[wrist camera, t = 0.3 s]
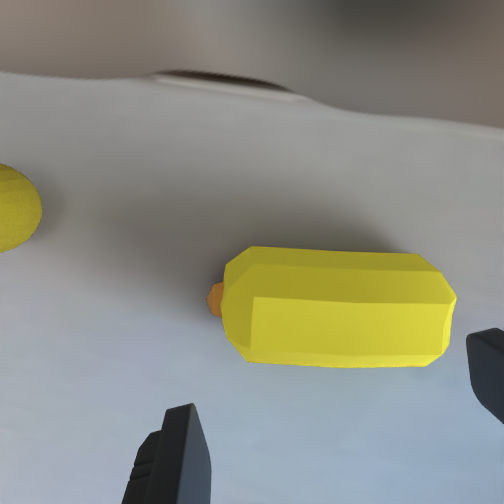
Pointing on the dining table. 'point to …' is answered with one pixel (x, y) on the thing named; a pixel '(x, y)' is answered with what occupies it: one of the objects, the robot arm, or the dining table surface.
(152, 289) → the dining table surface
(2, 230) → the lemon
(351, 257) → the yellow faceted capsule
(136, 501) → the robot arm
